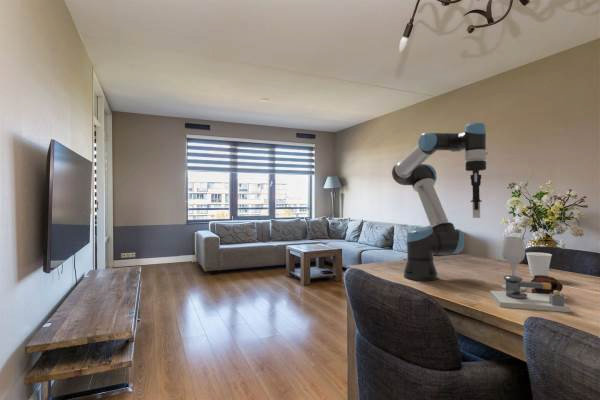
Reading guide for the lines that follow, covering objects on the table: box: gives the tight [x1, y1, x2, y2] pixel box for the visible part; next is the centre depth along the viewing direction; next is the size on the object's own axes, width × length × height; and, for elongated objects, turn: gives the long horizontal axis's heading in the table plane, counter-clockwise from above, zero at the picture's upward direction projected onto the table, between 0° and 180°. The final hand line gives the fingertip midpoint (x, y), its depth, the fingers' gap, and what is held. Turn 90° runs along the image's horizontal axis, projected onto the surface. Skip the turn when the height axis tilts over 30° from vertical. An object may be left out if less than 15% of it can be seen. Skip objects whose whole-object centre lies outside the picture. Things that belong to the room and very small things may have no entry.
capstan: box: [503, 274, 551, 299], centre depth 118 cm, size 14×6×7 cm, turn 67°
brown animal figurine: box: [530, 275, 564, 294], centre depth 126 cm, size 12×10×8 cm
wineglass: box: [501, 236, 527, 292], centre depth 135 cm, size 9×9×21 cm
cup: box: [525, 251, 553, 279], centre depth 152 cm, size 10×10×11 cm
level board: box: [489, 290, 571, 313], centre depth 117 cm, size 20×15×6 cm
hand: (476, 217), depth 136 cm, fingers closed
